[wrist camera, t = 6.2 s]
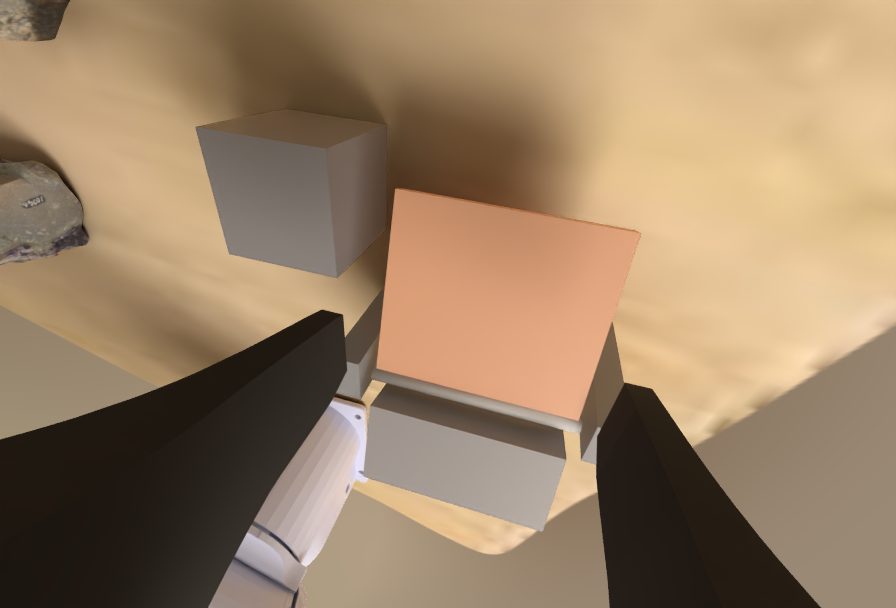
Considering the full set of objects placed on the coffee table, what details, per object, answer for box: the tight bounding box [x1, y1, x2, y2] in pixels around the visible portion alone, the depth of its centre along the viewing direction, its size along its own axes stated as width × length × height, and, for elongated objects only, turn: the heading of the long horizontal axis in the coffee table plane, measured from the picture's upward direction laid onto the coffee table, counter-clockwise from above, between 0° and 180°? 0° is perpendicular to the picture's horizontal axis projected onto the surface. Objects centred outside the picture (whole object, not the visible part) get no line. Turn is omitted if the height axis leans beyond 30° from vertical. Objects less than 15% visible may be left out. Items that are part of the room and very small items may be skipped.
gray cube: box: [196, 109, 387, 278], centre depth 16 cm, size 5×5×5 cm
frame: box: [336, 287, 624, 464], centre depth 17 cm, size 2×11×7 cm, turn 84°
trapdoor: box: [363, 188, 641, 532], centre depth 15 cm, size 12×8×2 cm
